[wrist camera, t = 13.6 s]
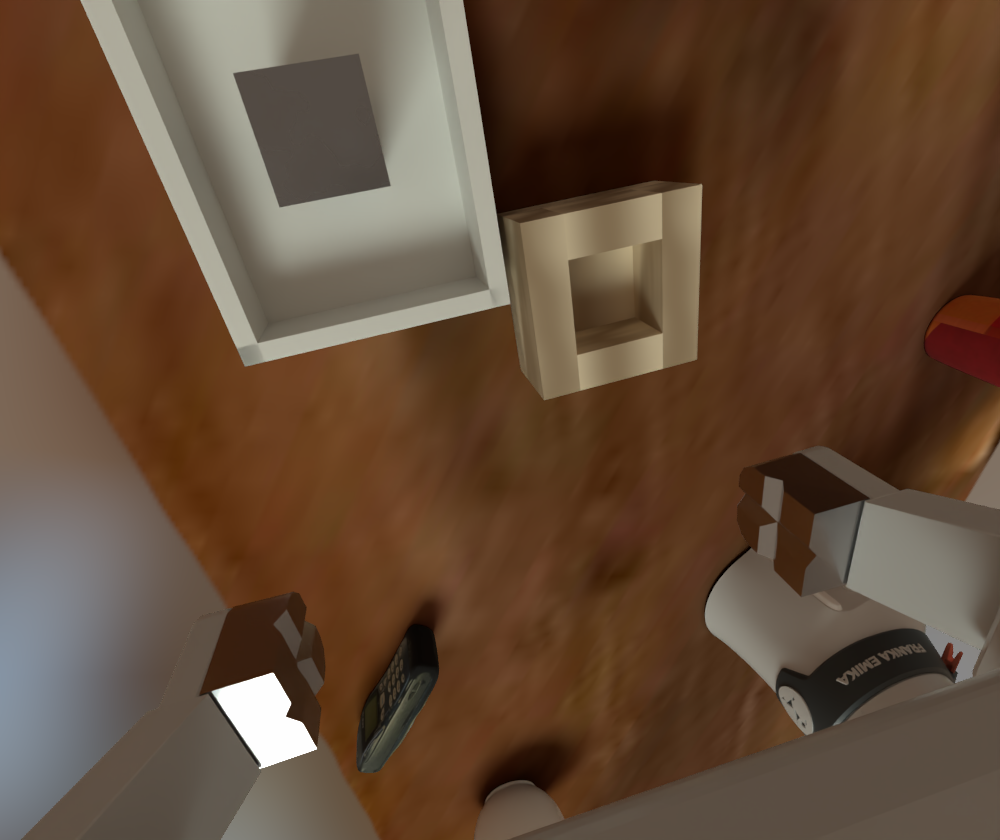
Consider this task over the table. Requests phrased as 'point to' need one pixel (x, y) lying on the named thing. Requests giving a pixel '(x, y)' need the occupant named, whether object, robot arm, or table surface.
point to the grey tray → (327, 222)
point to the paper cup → (967, 337)
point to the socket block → (604, 284)
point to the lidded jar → (515, 811)
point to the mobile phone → (397, 699)
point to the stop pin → (314, 128)
